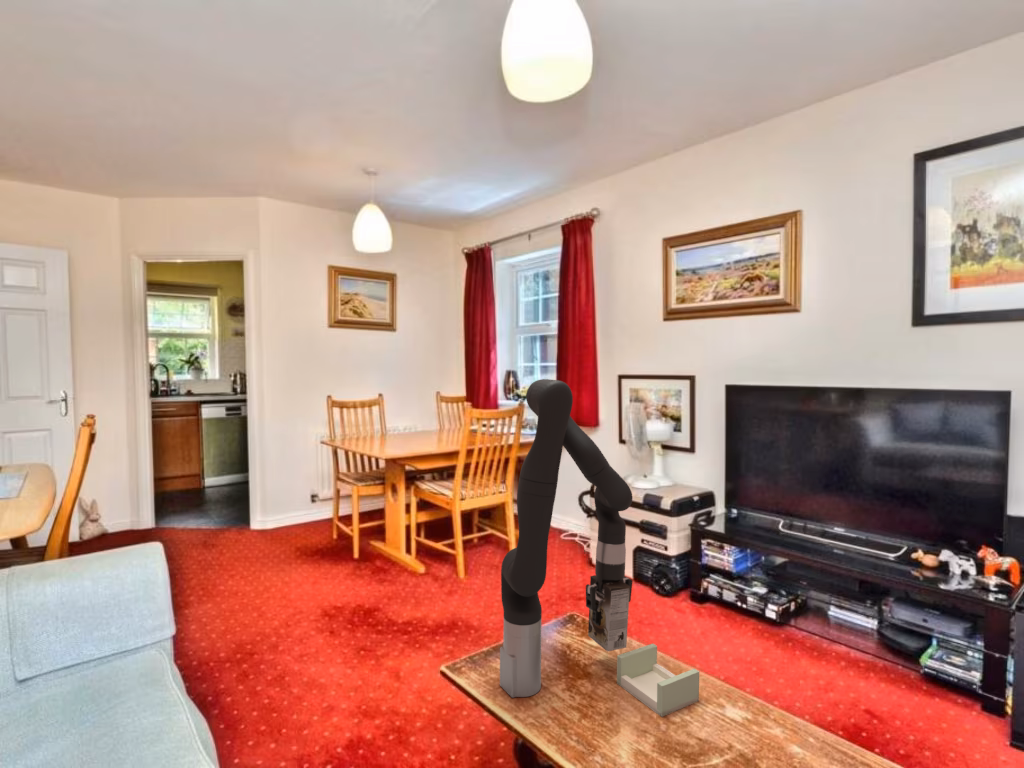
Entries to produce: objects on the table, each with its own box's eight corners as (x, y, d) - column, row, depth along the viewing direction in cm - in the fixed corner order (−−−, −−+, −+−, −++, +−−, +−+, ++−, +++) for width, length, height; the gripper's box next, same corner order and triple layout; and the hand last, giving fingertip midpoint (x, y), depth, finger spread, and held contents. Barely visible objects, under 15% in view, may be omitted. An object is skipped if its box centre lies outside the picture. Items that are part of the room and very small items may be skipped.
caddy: (661, 717, 124) (662, 686, 123) (616, 683, 136) (617, 655, 136) (698, 700, 130) (699, 671, 129) (652, 670, 143) (652, 643, 142)
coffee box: (586, 635, 146) (589, 575, 146) (607, 631, 149) (609, 572, 148) (606, 652, 138) (609, 588, 137) (627, 647, 141) (630, 585, 140)
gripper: (598, 567, 136) (595, 633, 136) (641, 558, 143) (638, 622, 144) (579, 557, 142) (576, 621, 143) (621, 549, 150) (619, 610, 150)
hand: (607, 621), depth 143 cm, fingers closed on coffee box, 6 cm apart
